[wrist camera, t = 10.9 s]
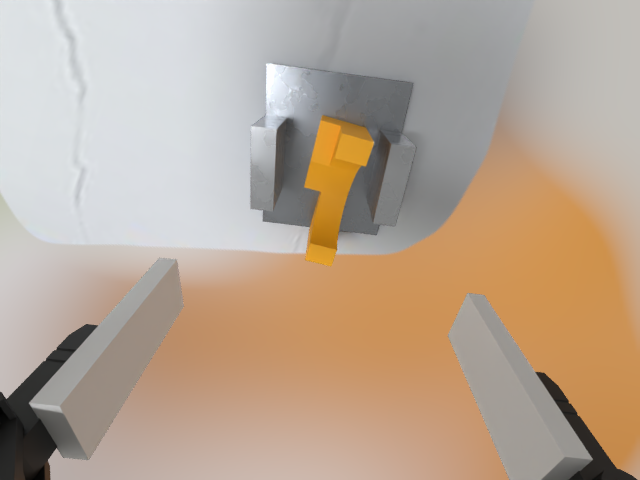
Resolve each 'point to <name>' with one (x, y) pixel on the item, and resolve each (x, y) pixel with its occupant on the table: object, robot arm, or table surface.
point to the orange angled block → (333, 181)
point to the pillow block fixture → (300, 135)
